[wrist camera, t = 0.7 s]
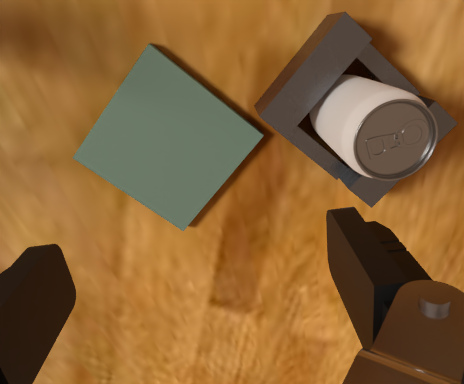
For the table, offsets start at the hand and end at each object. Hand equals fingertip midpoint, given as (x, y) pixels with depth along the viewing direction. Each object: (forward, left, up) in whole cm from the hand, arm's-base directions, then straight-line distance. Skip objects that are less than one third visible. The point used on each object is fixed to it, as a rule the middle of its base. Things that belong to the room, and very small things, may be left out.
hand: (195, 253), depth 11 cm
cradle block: (-7, +10, -26) cm, 29 cm away
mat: (+6, -1, -26) cm, 27 cm away
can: (-7, +10, -26) cm, 29 cm away
